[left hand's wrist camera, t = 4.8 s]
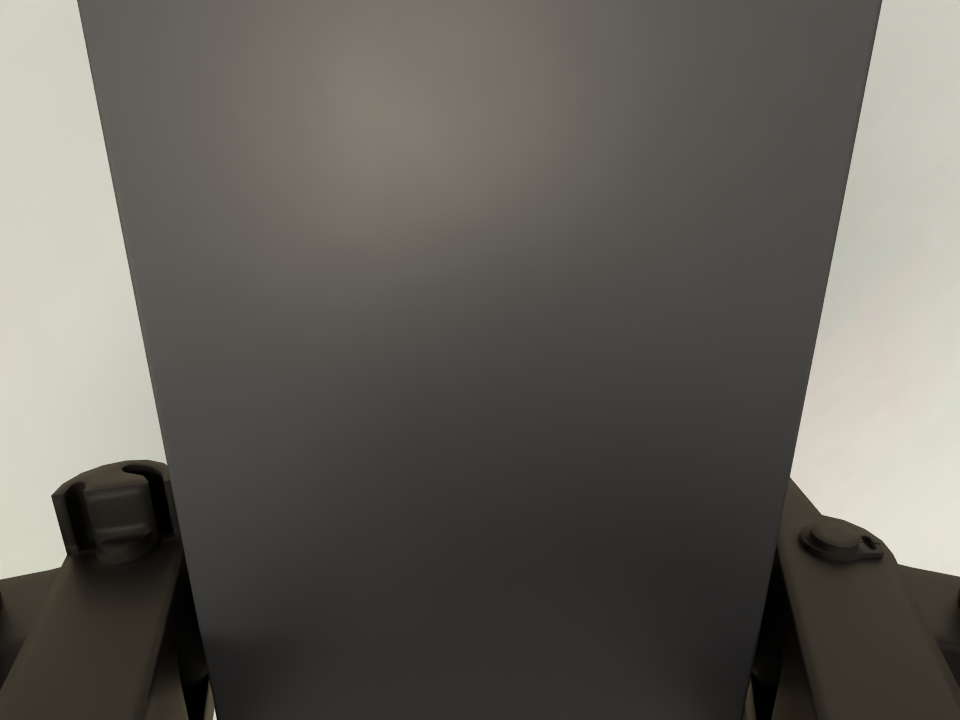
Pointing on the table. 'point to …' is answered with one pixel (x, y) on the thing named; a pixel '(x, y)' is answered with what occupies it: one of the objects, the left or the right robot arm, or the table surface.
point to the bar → (479, 334)
